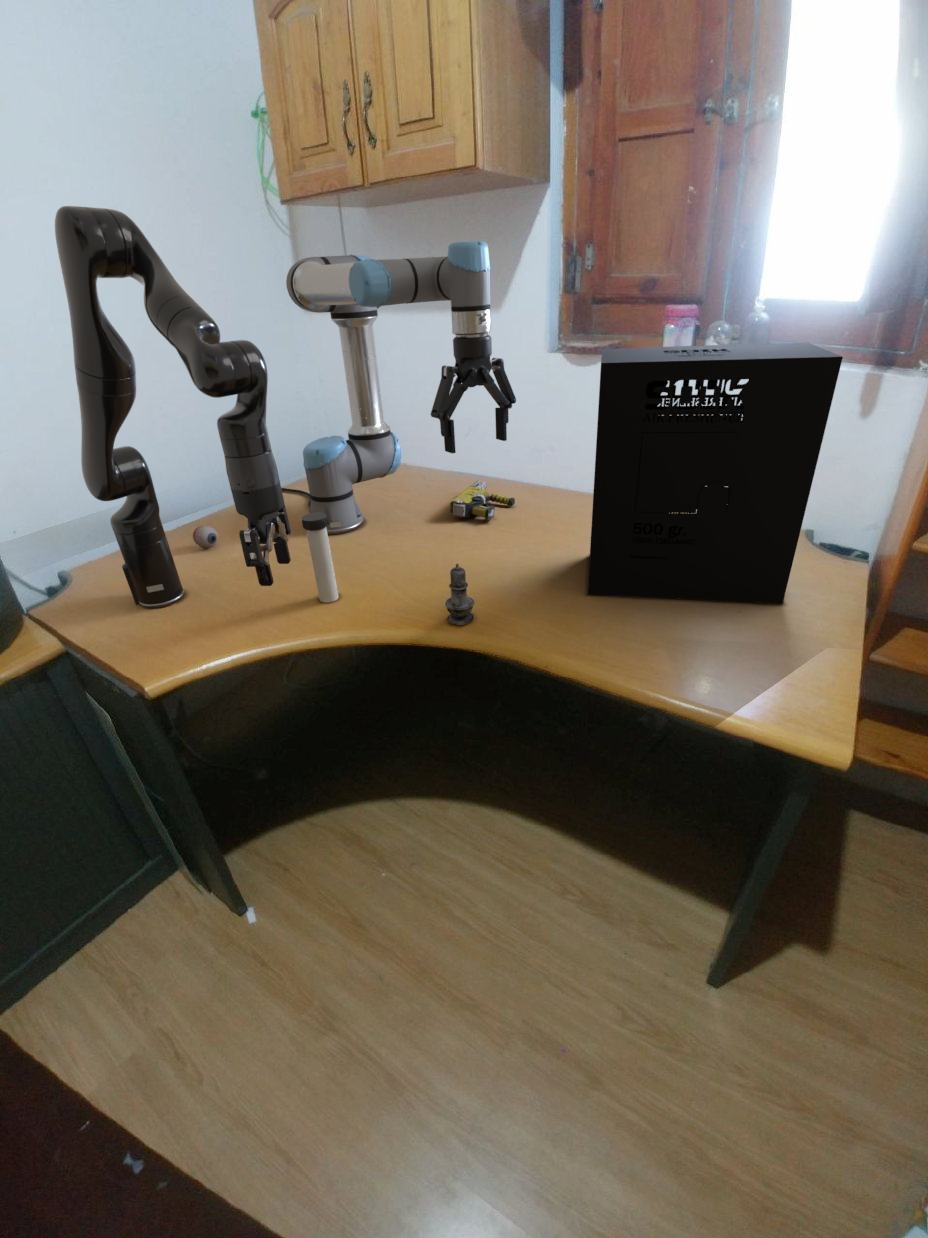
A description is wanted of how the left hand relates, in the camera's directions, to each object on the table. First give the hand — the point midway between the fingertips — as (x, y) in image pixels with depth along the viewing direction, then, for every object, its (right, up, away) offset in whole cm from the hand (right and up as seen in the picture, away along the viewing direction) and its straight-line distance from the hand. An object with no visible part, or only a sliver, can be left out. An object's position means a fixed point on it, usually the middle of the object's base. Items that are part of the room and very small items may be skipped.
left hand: (276, 573), depth 103 cm
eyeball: (-36, +11, +57) cm, 68 cm away
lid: (+2, +13, +19) cm, 23 cm away
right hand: (+35, +29, +24) cm, 51 cm away
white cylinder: (+3, -3, +28) cm, 29 cm away
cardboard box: (+79, +1, +28) cm, 83 cm away
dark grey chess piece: (+31, -8, +17) cm, 37 cm away
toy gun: (+39, +25, +73) cm, 86 cm away
